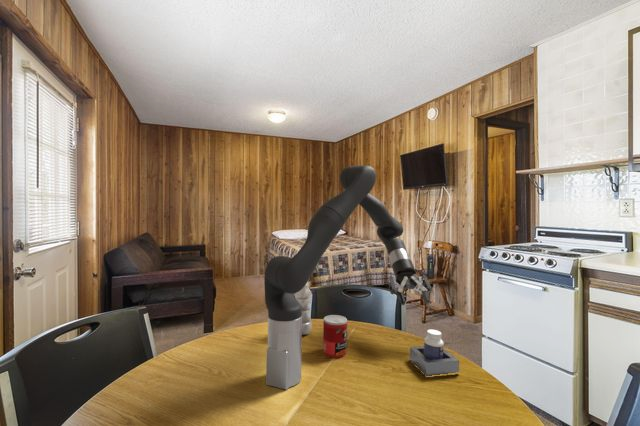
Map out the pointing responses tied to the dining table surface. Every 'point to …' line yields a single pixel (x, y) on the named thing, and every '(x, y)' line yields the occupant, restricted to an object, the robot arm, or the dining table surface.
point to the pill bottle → (433, 345)
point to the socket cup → (434, 362)
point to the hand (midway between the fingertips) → (415, 303)
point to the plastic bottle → (305, 308)
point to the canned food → (335, 336)
